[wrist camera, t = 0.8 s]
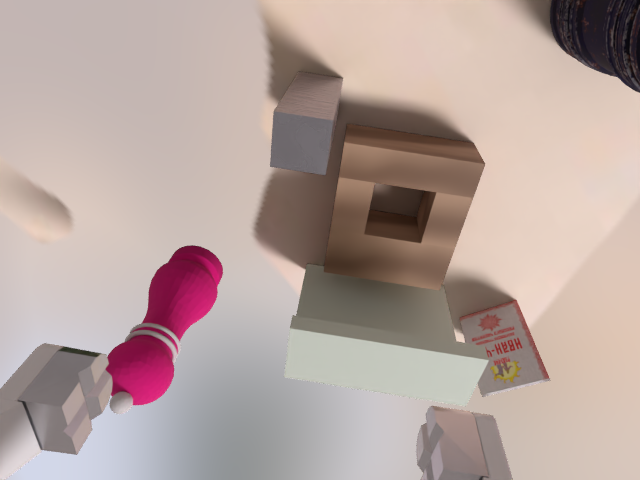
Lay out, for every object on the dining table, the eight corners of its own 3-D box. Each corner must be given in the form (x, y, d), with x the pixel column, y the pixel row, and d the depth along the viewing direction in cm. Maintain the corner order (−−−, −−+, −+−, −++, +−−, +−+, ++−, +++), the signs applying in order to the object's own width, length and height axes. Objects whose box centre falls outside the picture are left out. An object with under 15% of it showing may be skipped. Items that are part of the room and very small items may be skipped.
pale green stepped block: (311, 227, 48) (289, 328, 35) (456, 249, 47) (489, 360, 34) (306, 270, 51) (284, 377, 38) (441, 291, 51) (465, 406, 38)
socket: (347, 123, 41) (344, 142, 37) (473, 143, 41) (485, 164, 37) (327, 244, 49) (323, 272, 44) (433, 261, 48) (439, 290, 44)
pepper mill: (155, 255, 52) (53, 397, 35) (201, 231, 49) (114, 372, 33) (194, 297, 55) (117, 445, 38) (239, 276, 52) (177, 426, 36)
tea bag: (525, 321, 52) (554, 391, 44) (469, 337, 54) (487, 406, 46) (516, 299, 50) (545, 368, 42) (459, 317, 53) (475, 385, 44)
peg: (298, 71, 39) (273, 111, 29) (342, 78, 39) (333, 120, 29) (294, 115, 41) (270, 166, 31) (336, 121, 41) (325, 175, 31)
